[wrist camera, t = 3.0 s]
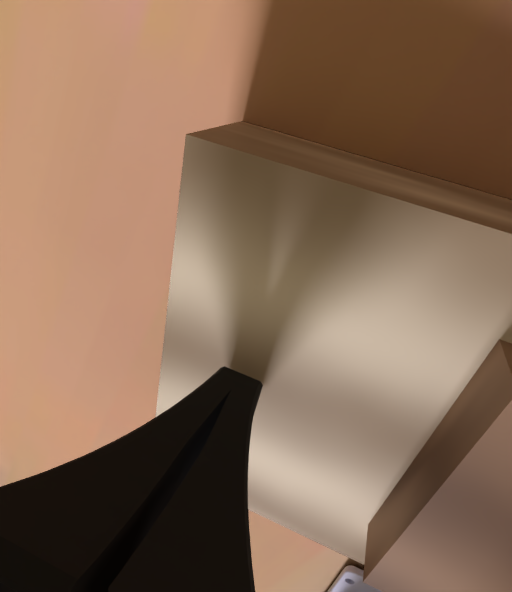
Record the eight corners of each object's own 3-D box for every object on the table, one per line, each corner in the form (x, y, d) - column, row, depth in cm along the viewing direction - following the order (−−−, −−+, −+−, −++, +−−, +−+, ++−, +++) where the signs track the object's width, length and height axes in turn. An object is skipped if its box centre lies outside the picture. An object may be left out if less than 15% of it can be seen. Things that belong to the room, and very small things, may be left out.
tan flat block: (598, 579, 17) (643, 698, 14) (192, 401, 21) (150, 462, 17) (976, 335, 10) (1270, 466, 6) (242, 120, 13) (186, 134, 10)
